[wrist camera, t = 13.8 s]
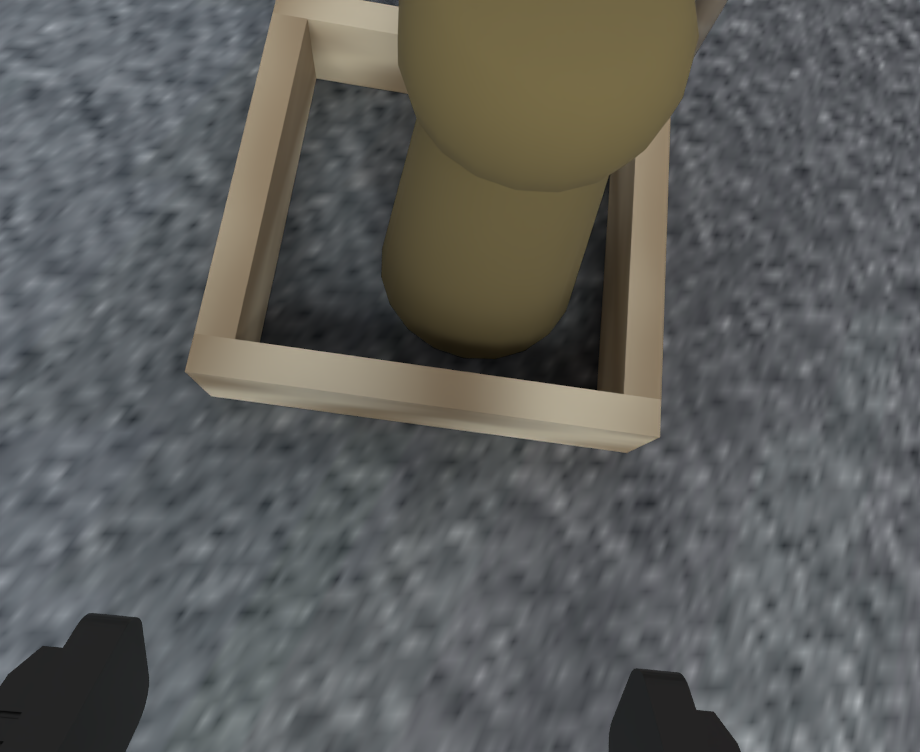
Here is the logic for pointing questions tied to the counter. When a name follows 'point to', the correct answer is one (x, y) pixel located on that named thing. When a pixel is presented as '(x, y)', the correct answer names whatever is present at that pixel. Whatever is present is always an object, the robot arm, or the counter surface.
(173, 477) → the counter surface
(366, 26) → the wooden square frame
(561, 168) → the cork
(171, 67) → the counter surface
